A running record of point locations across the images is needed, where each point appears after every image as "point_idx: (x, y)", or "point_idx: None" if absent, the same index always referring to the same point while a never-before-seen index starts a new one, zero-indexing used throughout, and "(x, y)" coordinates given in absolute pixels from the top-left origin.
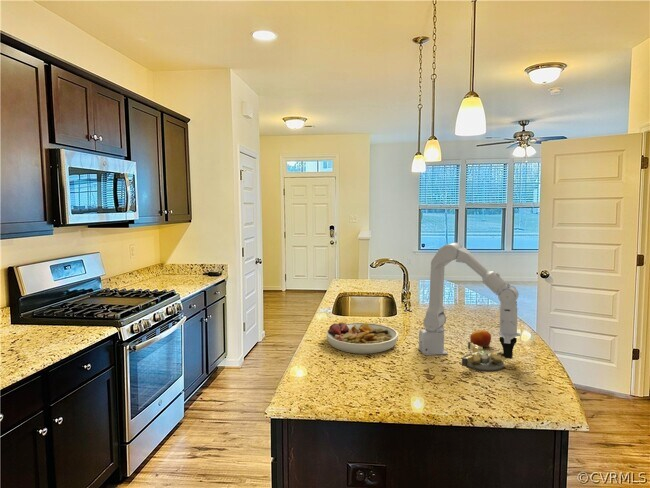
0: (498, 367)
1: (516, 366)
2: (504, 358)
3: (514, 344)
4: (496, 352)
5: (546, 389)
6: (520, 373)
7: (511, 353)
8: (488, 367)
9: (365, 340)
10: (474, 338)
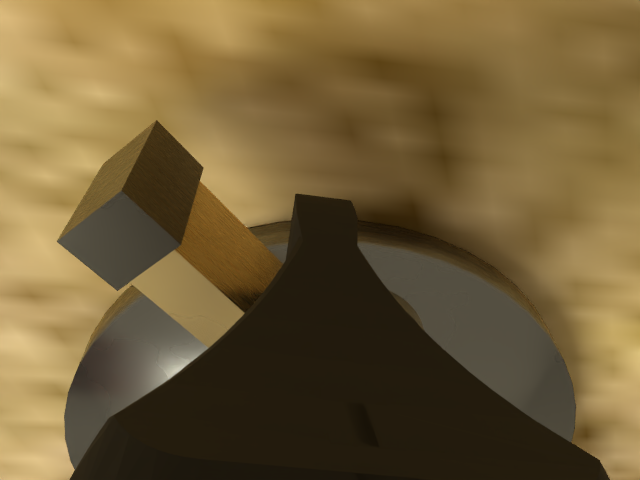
0: (532, 317)
1: (285, 28)
2: (273, 268)
3: (545, 430)
4: None
5: None
6: (614, 3)
7: (358, 254)
8: (555, 415)
9: None
10: None
